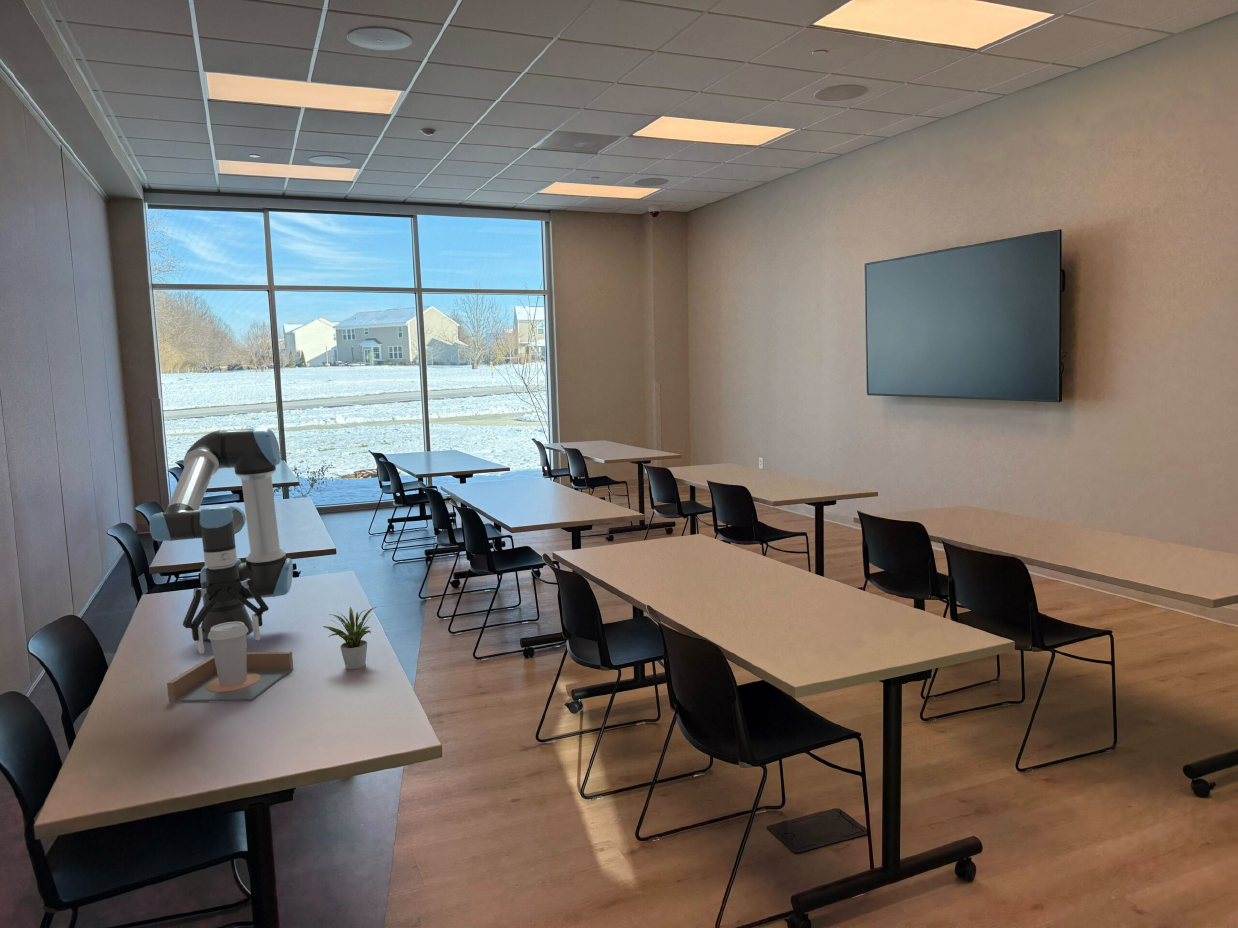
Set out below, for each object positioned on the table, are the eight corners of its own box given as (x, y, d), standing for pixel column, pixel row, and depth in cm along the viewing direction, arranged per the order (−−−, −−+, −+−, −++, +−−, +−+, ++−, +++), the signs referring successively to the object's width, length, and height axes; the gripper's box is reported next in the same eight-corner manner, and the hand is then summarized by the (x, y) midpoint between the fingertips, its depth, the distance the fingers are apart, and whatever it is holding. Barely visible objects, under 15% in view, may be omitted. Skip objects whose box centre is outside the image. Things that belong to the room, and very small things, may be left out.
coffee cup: (212, 691, 207) (205, 634, 205) (213, 679, 216) (208, 624, 214) (253, 684, 211) (247, 627, 209) (253, 672, 219) (247, 618, 218)
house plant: (363, 652, 234) (359, 596, 232) (395, 660, 226) (390, 602, 224) (320, 668, 223) (315, 610, 221) (352, 677, 215) (346, 617, 213)
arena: (218, 670, 225) (216, 652, 224) (293, 668, 223) (291, 651, 222) (169, 702, 203) (166, 682, 203) (251, 700, 201) (249, 681, 201)
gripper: (170, 577, 199) (180, 661, 201) (276, 558, 215) (283, 636, 217) (164, 572, 205) (173, 654, 207) (267, 554, 221) (274, 630, 223)
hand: (229, 645), depth 212 cm, fingers open, 13 cm apart
